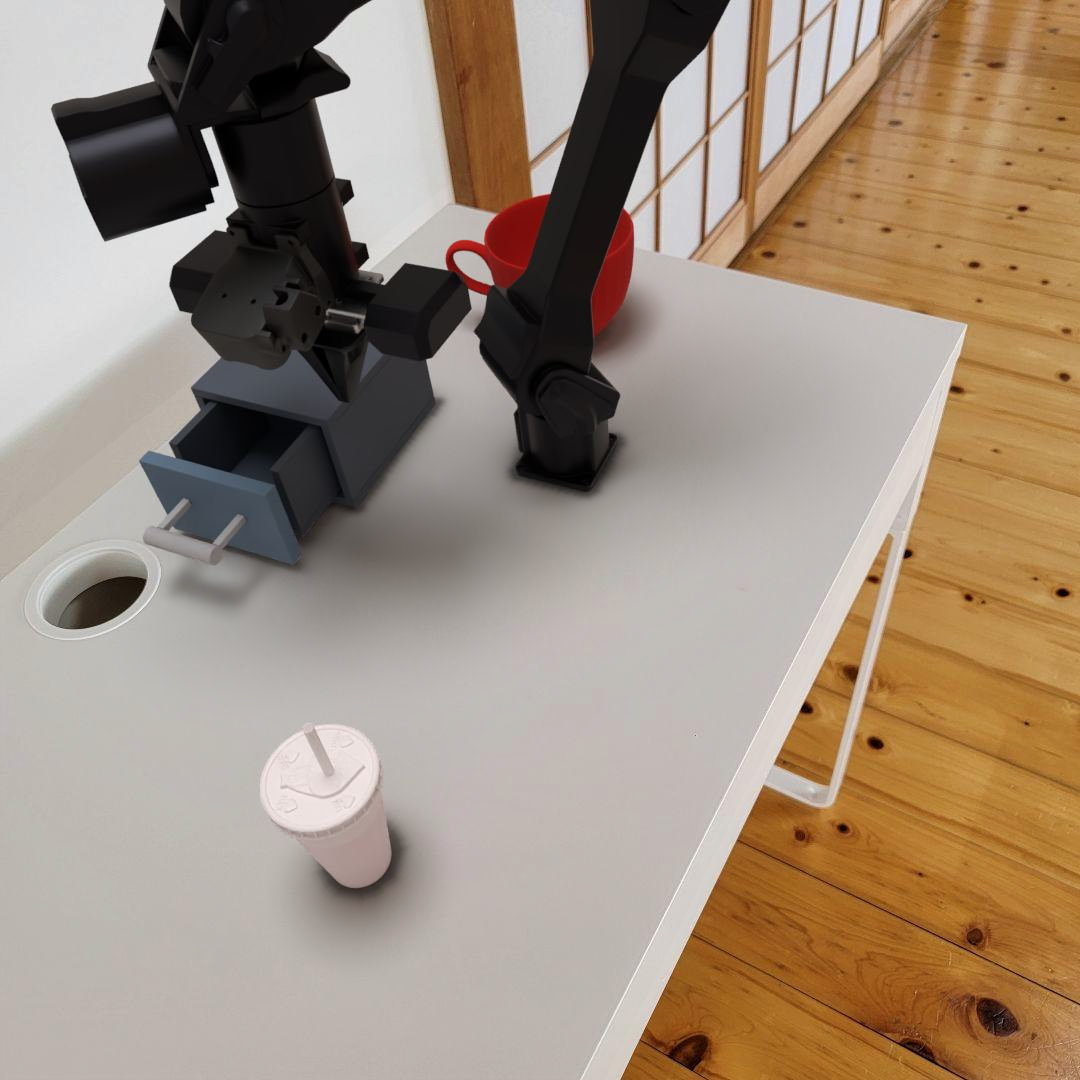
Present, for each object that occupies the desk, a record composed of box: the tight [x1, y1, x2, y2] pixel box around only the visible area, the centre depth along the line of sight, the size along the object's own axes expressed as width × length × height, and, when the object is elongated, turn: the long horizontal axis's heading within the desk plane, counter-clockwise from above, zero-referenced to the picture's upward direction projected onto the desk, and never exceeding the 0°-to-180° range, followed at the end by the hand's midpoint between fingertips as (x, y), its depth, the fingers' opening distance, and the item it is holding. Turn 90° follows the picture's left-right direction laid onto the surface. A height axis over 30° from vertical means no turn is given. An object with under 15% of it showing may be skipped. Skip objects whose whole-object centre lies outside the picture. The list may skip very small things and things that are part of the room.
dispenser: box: [190, 342, 436, 509], centre depth 82 cm, size 14×13×9 cm
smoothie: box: [259, 722, 392, 889], centre depth 54 cm, size 6×6×14 cm
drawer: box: [138, 400, 342, 566], centre depth 76 cm, size 17×11×7 cm
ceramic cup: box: [444, 193, 635, 339], centre depth 90 cm, size 13×17×10 cm
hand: (348, 398), depth 67 cm, fingers closed
